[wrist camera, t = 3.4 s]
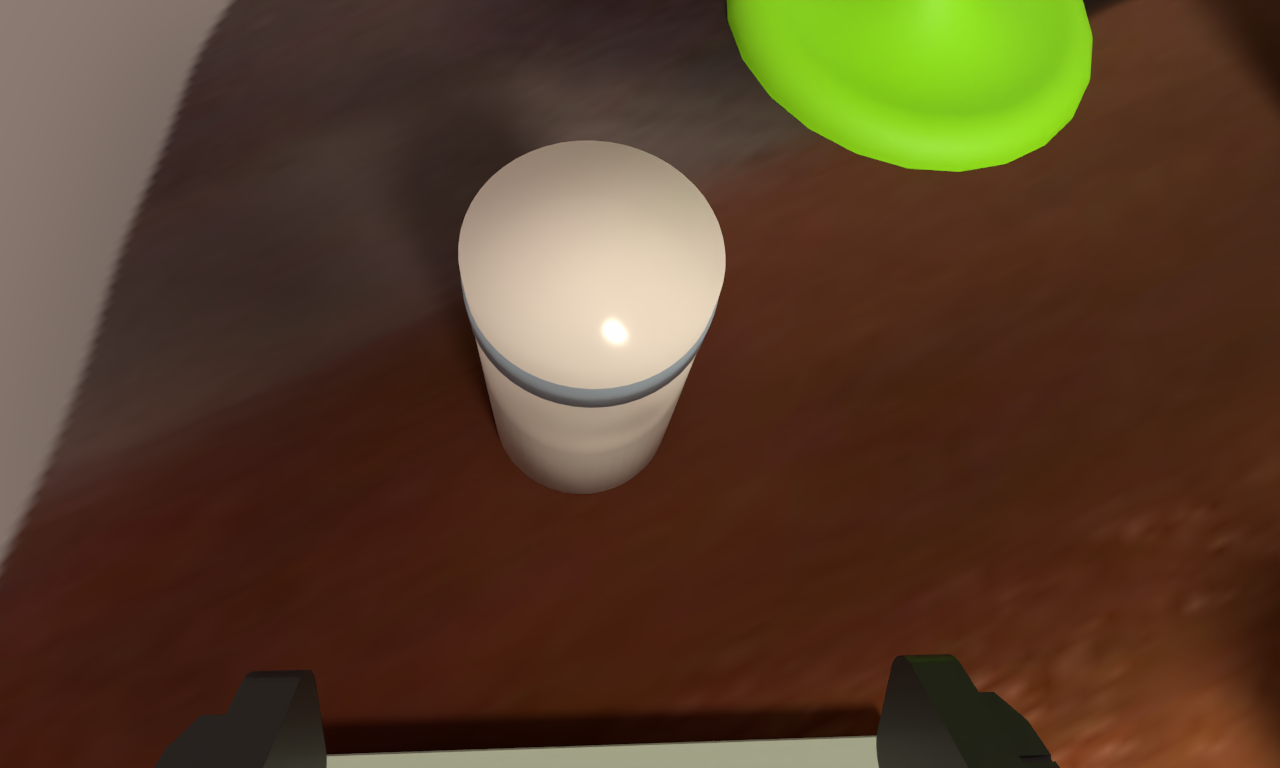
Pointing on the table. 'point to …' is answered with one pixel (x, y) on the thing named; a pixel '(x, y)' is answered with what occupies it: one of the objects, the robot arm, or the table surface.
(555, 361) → the cream domed container
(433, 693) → the table surface
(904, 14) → the wineglass
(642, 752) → the mat
